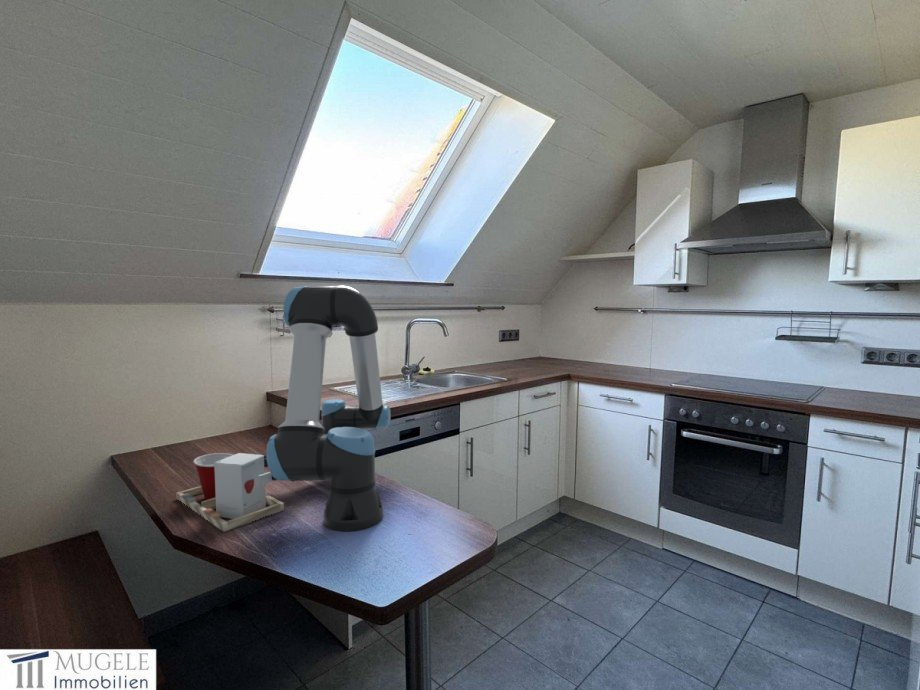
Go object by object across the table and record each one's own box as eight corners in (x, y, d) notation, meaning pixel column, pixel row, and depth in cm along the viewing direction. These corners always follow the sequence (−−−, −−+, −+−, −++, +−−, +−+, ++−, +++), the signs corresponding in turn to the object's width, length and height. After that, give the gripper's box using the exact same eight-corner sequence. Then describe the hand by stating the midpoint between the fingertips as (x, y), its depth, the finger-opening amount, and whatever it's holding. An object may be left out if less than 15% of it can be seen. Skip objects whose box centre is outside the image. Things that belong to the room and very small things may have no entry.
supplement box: (243, 521, 120) (240, 465, 119) (215, 517, 122) (212, 462, 121) (267, 507, 128) (264, 454, 127) (240, 503, 131) (238, 452, 130)
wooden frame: (284, 510, 126) (283, 499, 126) (222, 532, 114) (221, 520, 114) (232, 483, 147) (232, 474, 147) (175, 499, 135) (175, 489, 134)
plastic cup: (219, 506, 129) (217, 464, 128) (186, 503, 131) (184, 462, 131) (245, 491, 140) (243, 452, 139) (214, 489, 142) (212, 451, 141)
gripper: (337, 474, 137) (272, 499, 119) (286, 460, 151) (221, 480, 134) (336, 449, 136) (271, 470, 119) (285, 437, 150) (220, 454, 133)
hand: (245, 475), depth 126 cm, fingers open, 13 cm apart
